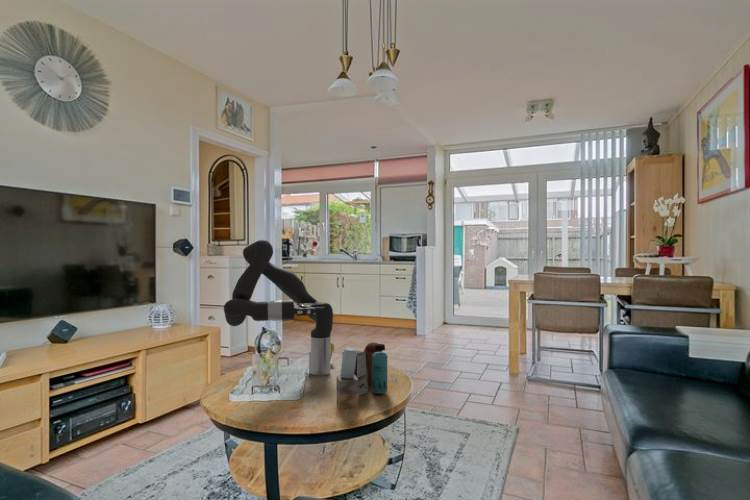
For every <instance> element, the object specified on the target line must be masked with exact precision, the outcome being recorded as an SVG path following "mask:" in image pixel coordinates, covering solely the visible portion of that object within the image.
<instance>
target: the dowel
mask: <svg viewBox="0 0 750 500" xmlns="http://www.w3.org/2000/svg"><path fill="white" fill-rule="evenodd" d="M357 351H358V350H357V349H355V348H346V347H345V348H344V349H343V351H342V352H343V360H342V361H341V369H340V374H339V376H341V377H343V378H348V379H352V378H354V371H355V363H356V356H357Z"/></svg>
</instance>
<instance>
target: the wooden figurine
mask: <svg viewBox="0 0 750 500" xmlns="http://www.w3.org/2000/svg"><path fill="white" fill-rule="evenodd" d="M376 344H379V343H378V342H370V343H367V345H366V346H365V348H364V349H363V351H362V352H365V353H367V360H368V361H367V363H368V386H370V387H372V386H371V379H372V377H371V376H372V374H371V373H372V355H373V354H374V353H375V352H383V351H377V350H375V345H376Z"/></svg>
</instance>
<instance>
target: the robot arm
mask: <svg viewBox="0 0 750 500" xmlns="http://www.w3.org/2000/svg"><path fill="white" fill-rule="evenodd" d="M242 255H243V259H244V260H245V261H246V263H247V264H248V266H247V268H246V269H245V270H244V271H243V273H242V274H241V275H240V277H239V278H238V280H237V281H236V285H235V286H234V289H233V291H232V294H231V295H232V296H231V299H229V300H227V301H226V302H225V304H224V305H223V312H224V317H225V321H226V323H227V324H228V325H229V326H231V327H238V326H240V325H242V324H243V323H244V322H245V320H246V318H247V316H249V317H251V318H252V320H253V321H254V322H265V321H268V322H269V321H271V322H272V321H273V322H274V321H275V322H278V321H294V319H295V315H296V316H298V317H300V316H303V317H305V316H308V317H309V319H310V320H312V321H315V327H314V328H313V329H311V330H310V351H309V353H308V373H309V374H310V375H312V376H317V377H318V376H326V375H330V374H331V361H330V349H331V343H332V342H331V338H332V337H331V334H332V330H333V323H334V319H333V318H334V310H333V307H332V305H331V304H330V303H328V302H324V301H323V302H322V301H318V300H317V299H315V298H314V297H313V296H312V295H311V294H310V293H309V291H307V289H306V287H305V284H304V282H303V281H302V279H300V278H299V277H298V276H297V275H296V274H295V273H294V272H293V271H291V270H289V269H286V268H283V267H280V266H277V265H275V264H273V263H272V262H270V260H271V259H272V258H273V255H274V248H273V245H272V243H270V241H268V240H267V239H259V240H257V241H255V242H253V243H251V244H248V245H247V246H246V247H245V248H244V249H243V251H242ZM261 275H263V276H265V278H267V279H268V280H269V281H270V282H272V283H273V284H274V285H275V286H276V287H277V288H278V289H279V290H280V291H281V292H282V293H283V294H284V295H286V296H287V297H288V298H289V299H279V300H270V301H254V300H251V298H252V296H253V293H254V292H255V288H256V286H257V284H258V282H259V280H260V277H261ZM295 304H296V305H295Z"/></svg>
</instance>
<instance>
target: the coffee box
mask: <svg viewBox="0 0 750 500" xmlns="http://www.w3.org/2000/svg"><path fill="white" fill-rule="evenodd" d="M343 352H344V351H342V356H341V357H342V360H343ZM367 361H368V360H367V353H365V352H363V351H361V350H357V356H356V363H355V371H354V374H355V376H356V377H357V378H358V380H359V391H358V397H359V396H362V395H363V394H367V393H368V386H369V385H368V363H367Z"/></svg>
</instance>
